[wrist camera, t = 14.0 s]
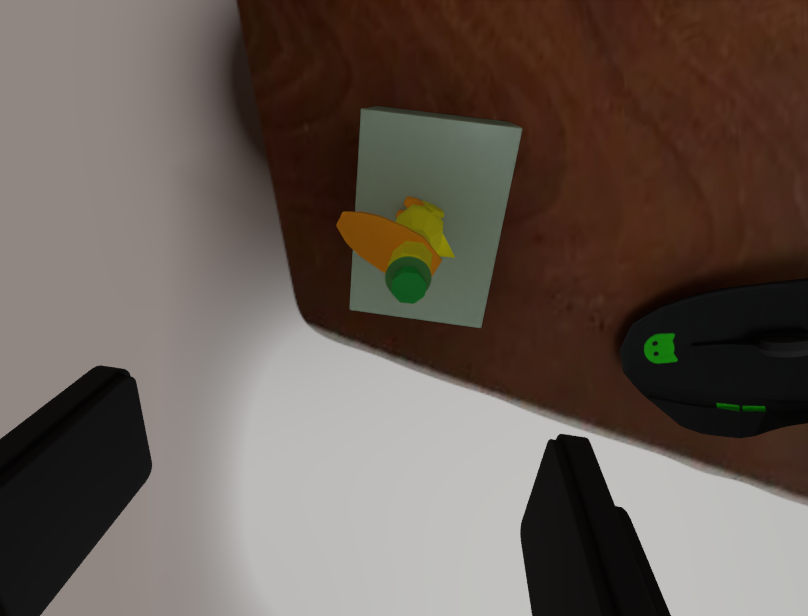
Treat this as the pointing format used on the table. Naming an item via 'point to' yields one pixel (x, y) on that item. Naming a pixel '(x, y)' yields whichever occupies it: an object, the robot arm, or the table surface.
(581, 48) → the table surface
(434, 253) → the toy figure
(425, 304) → the green box
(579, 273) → the table surface
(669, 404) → the computer mouse
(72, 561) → the robot arm
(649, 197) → the table surface
